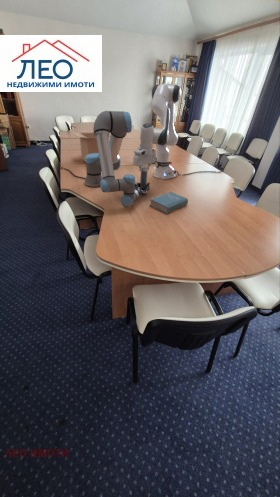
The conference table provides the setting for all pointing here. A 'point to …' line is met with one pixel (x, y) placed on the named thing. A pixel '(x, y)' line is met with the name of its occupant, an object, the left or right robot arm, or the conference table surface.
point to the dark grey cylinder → (143, 180)
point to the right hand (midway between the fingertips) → (144, 170)
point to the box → (87, 143)
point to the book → (168, 202)
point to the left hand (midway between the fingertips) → (145, 183)
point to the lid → (145, 168)
